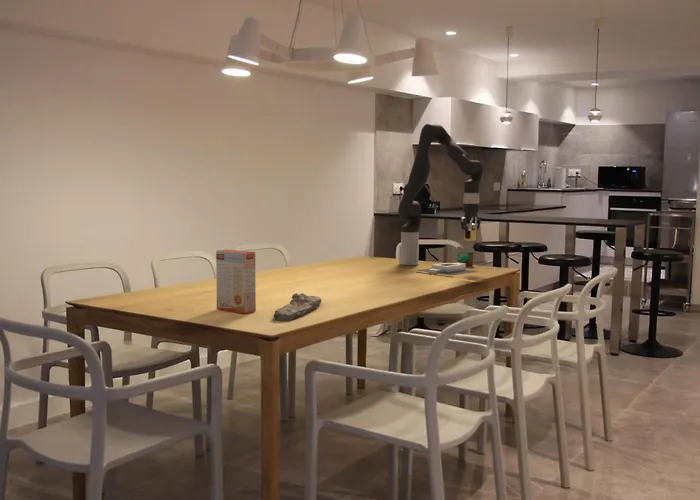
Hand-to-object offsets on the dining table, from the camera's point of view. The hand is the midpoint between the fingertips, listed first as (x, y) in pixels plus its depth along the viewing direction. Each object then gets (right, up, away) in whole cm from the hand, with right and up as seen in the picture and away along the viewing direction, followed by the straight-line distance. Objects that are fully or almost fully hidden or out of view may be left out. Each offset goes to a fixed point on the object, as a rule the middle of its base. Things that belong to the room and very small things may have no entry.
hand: (470, 238), depth 347 cm
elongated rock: (-75, -27, -97) cm, 125 cm away
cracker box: (-97, -27, -96) cm, 139 cm away
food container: (0, -15, +26) cm, 30 cm away
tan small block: (0, -1, 0) cm, 1 cm away
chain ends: (-11, -17, +3) cm, 20 cm away
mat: (-11, -17, +3) cm, 20 cm away
